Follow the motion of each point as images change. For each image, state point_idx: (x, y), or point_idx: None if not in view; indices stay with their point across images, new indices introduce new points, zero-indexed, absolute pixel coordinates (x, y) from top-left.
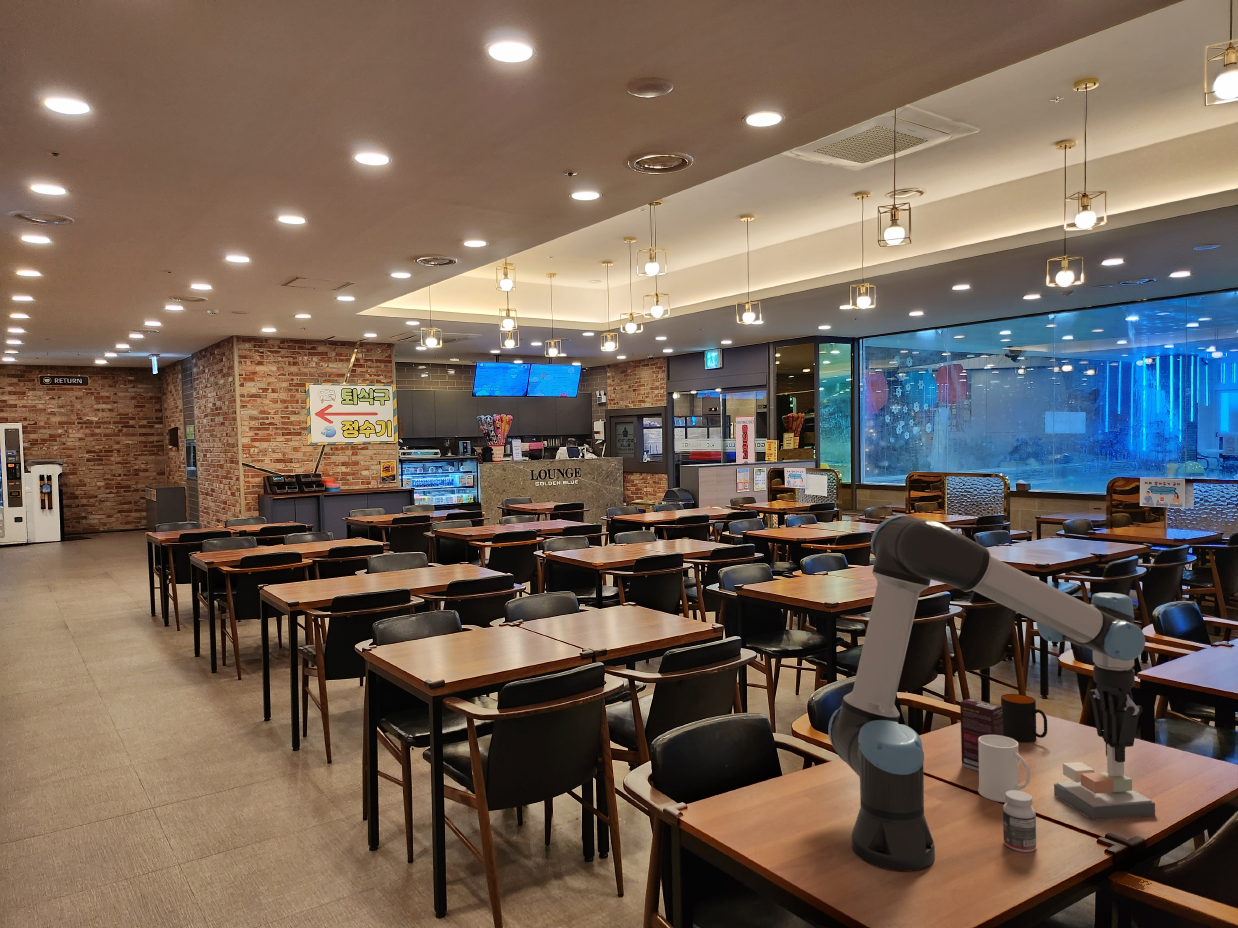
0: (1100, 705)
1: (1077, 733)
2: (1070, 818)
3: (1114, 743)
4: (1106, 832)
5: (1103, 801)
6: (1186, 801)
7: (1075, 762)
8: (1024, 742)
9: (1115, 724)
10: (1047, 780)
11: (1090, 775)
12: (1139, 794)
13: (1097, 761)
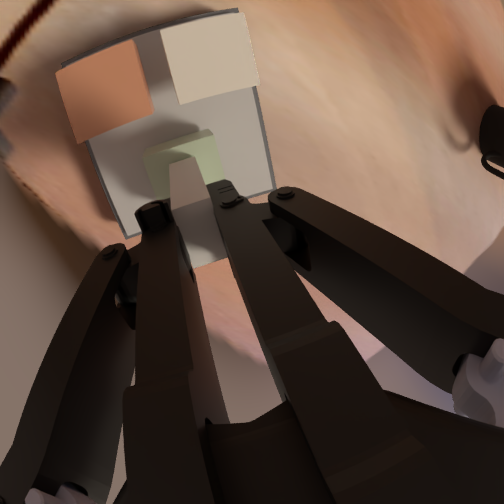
0: (416, 330)
1: (478, 233)
2: (81, 14)
3: (153, 227)
4: (16, 83)
5: None
6: (217, 305)
7: (254, 63)
8: (480, 127)
9: (143, 318)
10: (327, 47)
11: (115, 70)
12: None
13: (404, 217)
